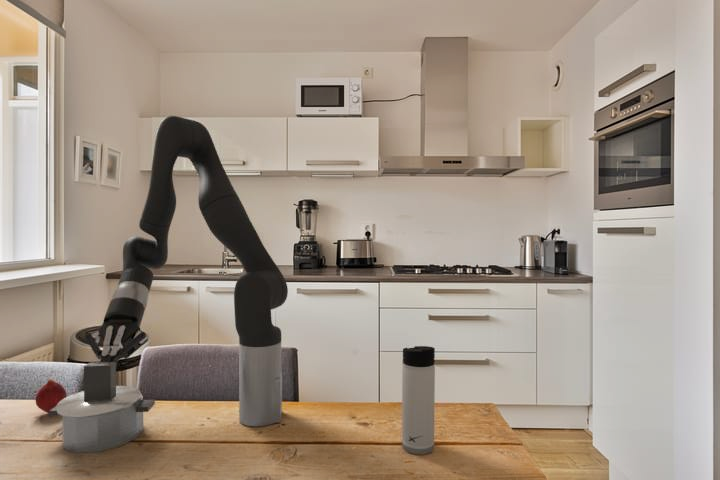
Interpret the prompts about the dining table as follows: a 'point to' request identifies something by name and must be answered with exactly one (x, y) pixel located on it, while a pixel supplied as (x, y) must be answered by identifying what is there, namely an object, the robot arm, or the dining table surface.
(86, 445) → the pot
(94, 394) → the lid
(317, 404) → the dining table surface
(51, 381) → the onion
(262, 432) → the dining table surface
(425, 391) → the travel mug
